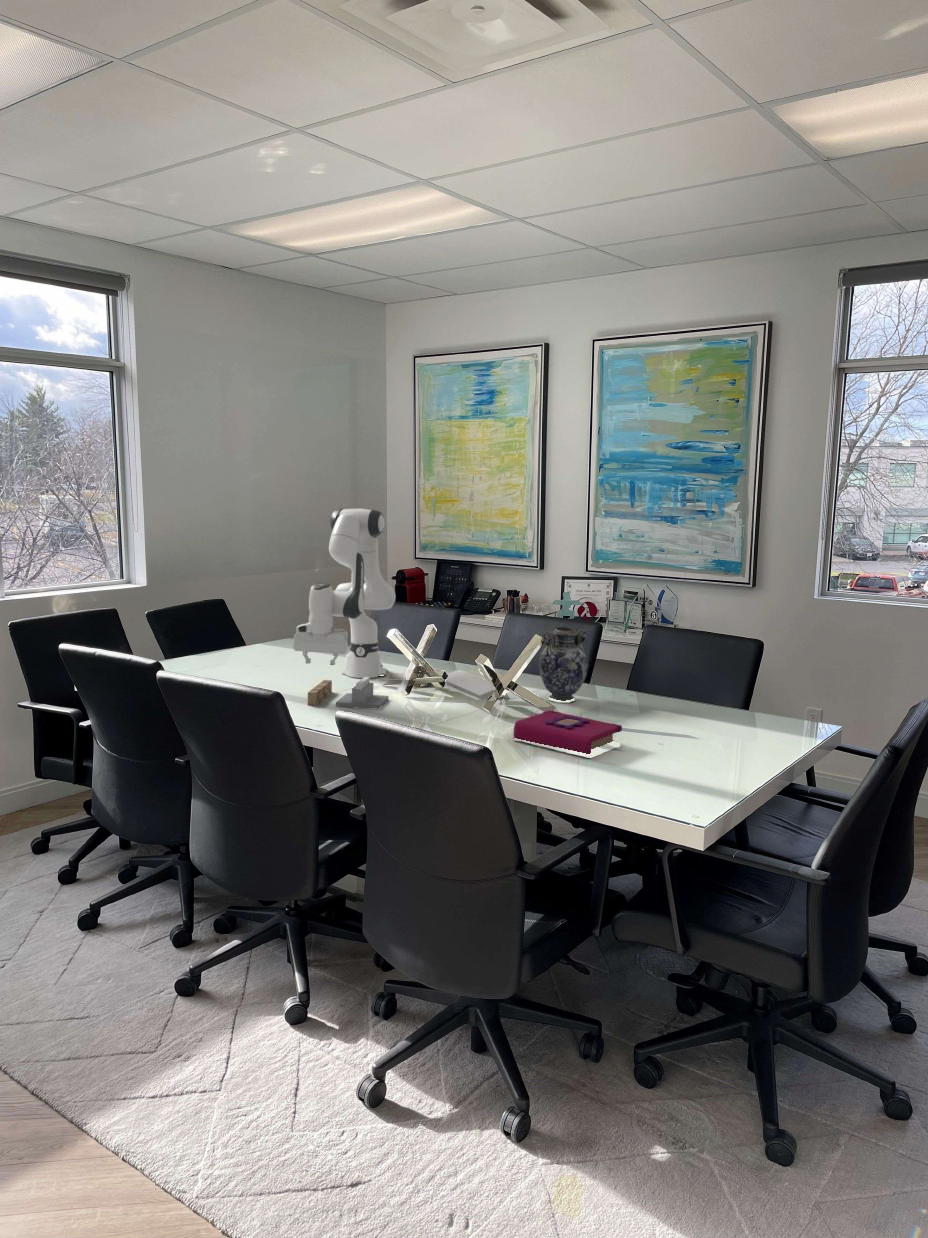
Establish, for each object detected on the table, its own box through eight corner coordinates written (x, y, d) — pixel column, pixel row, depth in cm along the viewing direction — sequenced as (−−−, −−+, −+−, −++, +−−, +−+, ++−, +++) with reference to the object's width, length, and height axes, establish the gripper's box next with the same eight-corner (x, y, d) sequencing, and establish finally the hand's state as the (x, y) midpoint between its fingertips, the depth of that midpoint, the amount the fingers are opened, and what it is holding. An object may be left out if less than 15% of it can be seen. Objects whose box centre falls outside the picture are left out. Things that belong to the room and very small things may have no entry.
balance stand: (347, 697, 338) (347, 675, 337) (388, 699, 336) (388, 677, 335) (335, 706, 324) (336, 683, 322) (379, 709, 321) (379, 686, 320)
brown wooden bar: (324, 692, 346) (324, 679, 345) (331, 693, 345) (331, 680, 345) (307, 705, 324) (307, 692, 323) (315, 706, 324) (315, 692, 323)
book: (588, 761, 269) (590, 736, 268) (512, 742, 286) (513, 719, 285) (622, 747, 286) (623, 724, 284) (548, 730, 303) (549, 708, 302)
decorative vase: (567, 692, 359) (571, 623, 354) (598, 702, 343) (602, 630, 339) (524, 697, 347) (528, 626, 342) (554, 709, 332) (558, 634, 327)
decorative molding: (482, 706, 343) (503, 697, 347) (479, 695, 342) (501, 686, 346) (441, 688, 372) (461, 680, 377) (438, 677, 371) (459, 669, 375)
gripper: (350, 627, 332) (349, 664, 334) (297, 624, 335) (297, 660, 337) (345, 630, 326) (345, 667, 328) (291, 627, 329) (291, 664, 331)
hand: (320, 664), depth 333 cm, fingers open, 8 cm apart
